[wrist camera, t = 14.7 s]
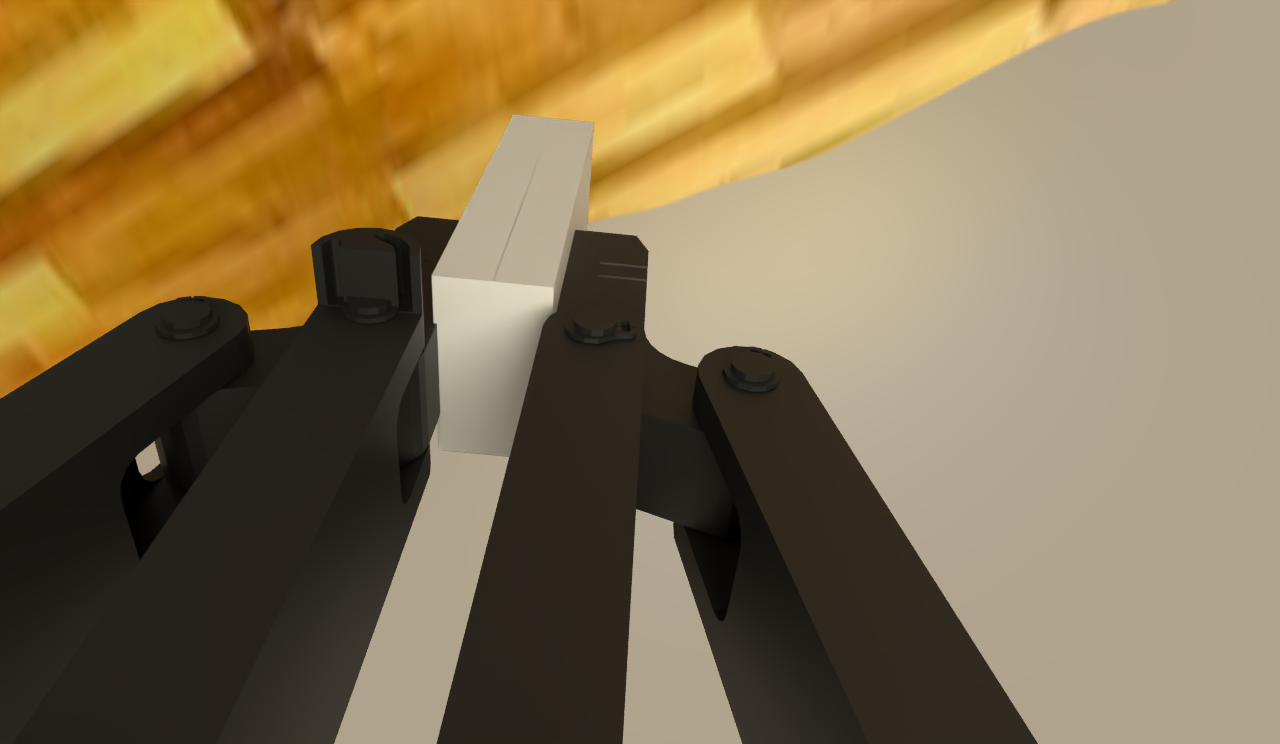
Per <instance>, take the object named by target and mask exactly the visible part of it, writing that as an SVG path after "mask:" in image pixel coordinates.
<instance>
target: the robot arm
mask: <svg viewBox="0 0 1280 744" xmlns="http://www.w3.org/2000/svg"><path fill="white" fill-rule="evenodd" d="M593 133H594V123H593V122H583V121H574V120H564V119H554V118H545V117H535V116H525V115H516V114H513V116H512V118H511V120H510V122H509V124H508V126H507V128H506V130H505V132H504V134H503V136H502V138H501V140H500V142H499V144H498V146H497V148H496V150H495V152H494V154H493V156H492V158H491V160H490V161H489V163H488V165H487V167H486V169H485V171H484V173H483V175H482V177H481V179H480V181H479V183H478V185H477V187H476V189H475V191H474V193H473V195H472V197H471V199H470V201H469V203H468V205H467V207H466V209H465V211H464V213H463V215H462V217H461V219H460V221H459V220H449V219H439V218H429V217H419V216H418V217H416V218H414V219H412V220H410V221H409V222H407V223H405V224H403V225H401V226H400V227H398V228H396V230H395V231H393V230H387V229H382V228H355V229H348V230H341V231H337V232H334V233H331V234H328V235H326V236H323V237H321V238H320V239H318V240H317V241H316V242H314V243H313V244H312V245H311V249H312V257H313V266H314V274H315V282H316V290H317V299H318V305H317V307H316V308H315V310H314V311H313V312H312V314H311V315H310V317H309V318H308V320H307V321H306V322H305V324H304V325H303V326H298V327H290V328H281V329H267V330H254V331H250V326H249V321H248V315H247V313H246V312H245V311H244V310H243V309H242V307H241V306H240V305H238V304H235V303H233V302H230V301H228V300H225V299H218V298H210V297H205V296H194V298H191V296H189V297H181V298H177V299H175V300H172V301H168V302H164V303H160V304H157V305H155V306H153V307H151V308H148V309H146V310H144V311H142V312H140V313H138V314H137V315H135V316H134V317H132V318H130V319H129V320H127V321H125V322H124V323H122V324H121V325H119V326H117V327H116V328H114V329H113V330H111V331H109V332H108V333H106V334H104V335H103V336H101V337H100V338H98V339H96V340H95V341H93V342H92V343H90V344H88V345H87V346H85V347H84V348H82V349H80V350H79V351H77V352H75V353H74V354H72V355H71V356H69V357H67V358H66V359H64V360H63V361H61V362H59V363H58V364H56V365H54V366H53V367H51V368H50V369H48V370H46V371H45V372H43V373H42V374H40V375H38V376H37V377H35V378H33V379H32V380H30V381H29V382H27V383H25V384H24V385H22V386H21V387H19V388H17V389H16V390H14V391H12V392H11V393H9V394H8V395H6V396H4V397H3V398H1V399H0V744H334V742H335V739H336V736H337V734H338V731H339V728H340V725H341V722H342V720H343V717H344V714H345V711H346V708H347V706H348V703H349V700H350V697H351V694H352V691H353V689H354V686H355V683H356V680H357V678H358V675H359V672H360V669H361V666H362V663H363V660H364V658H365V655H366V652H367V649H368V647H369V643H370V641H371V638H372V635H373V633H374V629H375V627H376V624H377V621H378V619H379V615H380V613H381V610H382V607H383V604H384V602H385V599H386V596H387V593H388V590H389V588H390V585H391V582H392V579H393V576H394V573H395V571H396V568H397V565H398V562H399V560H400V557H401V554H402V551H403V548H404V545H405V543H406V540H407V537H408V534H409V531H410V529H411V526H412V523H413V520H414V517H415V515H416V512H417V509H418V506H419V503H420V501H421V498H422V495H423V492H424V489H425V487H426V484H427V481H428V478H429V475H430V464H431V462H430V440H431V437H432V434H433V432H434V429H435V426H436V424H437V422H438V447H439V450H442V451H452V452H464V453H474V454H484V455H485V454H486V455H495V456H506V457H509V461H508V465H507V469H506V473H505V477H504V481H503V484H502V488H501V492H500V496H499V500H498V504H497V508H496V512H495V516H494V520H493V524H492V528H491V532H490V536H489V540H488V544H487V547H486V551H485V555H484V559H483V563H482V567H481V571H480V575H479V579H478V583H477V587H476V591H475V595H474V599H473V603H472V607H471V610H470V614H469V618H468V622H467V626H466V630H465V634H464V638H463V642H462V646H461V650H460V654H459V658H458V662H457V666H456V670H455V674H454V678H453V682H452V685H451V689H450V693H449V697H448V701H447V705H446V709H445V714H444V717H443V721H442V725H441V729H440V733H439V737H438V741H437V744H622V742H623V725H624V707H625V691H626V672H627V655H628V638H629V637H628V636H629V620H630V603H631V601H630V600H631V585H632V567H633V551H634V533H635V515H636V509H638V510H641V511H644V512H647V513H650V514H652V515H655V516H658V517H661V518H664V519H667V520H670V521H673V522H674V524H673V527H674V539H675V542H676V545H677V548H678V551H679V554H680V557H681V560H682V563H683V566H684V569H685V572H686V575H687V578H688V581H689V584H690V587H691V590H692V593H693V596H694V599H695V602H696V605H697V608H698V611H699V614H700V617H701V620H702V623H703V626H704V629H705V632H706V635H707V638H708V641H709V644H710V647H711V650H712V653H713V656H714V659H715V662H716V665H717V668H718V671H719V674H720V677H721V680H722V683H723V686H724V689H725V692H726V695H727V698H728V701H729V704H730V707H731V711H732V714H733V717H734V720H735V723H736V726H737V728H738V732H739V735H740V738H741V741H742V743H743V744H1038V743H1037V741H1036V740H1035V738H1034V737H1033V735H1032V734H1031V732H1030V730H1029V729H1028V727H1027V726H1026V724H1025V723H1024V721H1023V719H1022V718H1021V716H1020V715H1019V713H1018V711H1017V710H1016V708H1015V707H1014V705H1013V704H1012V702H1011V700H1010V699H1009V697H1008V696H1007V694H1006V693H1005V691H1004V689H1003V688H1002V686H1001V685H1000V683H999V682H998V680H997V679H996V677H995V675H994V674H993V672H992V671H991V669H990V668H989V666H988V664H987V663H986V661H985V660H984V658H983V656H982V655H981V653H980V652H979V650H978V649H977V647H976V646H975V644H974V642H973V641H972V639H971V637H970V636H969V634H968V633H967V631H966V630H965V628H964V626H963V625H962V623H961V622H960V620H959V619H958V617H957V616H956V614H955V612H954V611H953V609H952V608H951V606H950V604H949V603H948V601H947V600H946V598H945V597H944V595H943V594H942V592H941V590H940V589H939V587H938V586H937V584H936V582H935V581H934V579H933V578H932V576H931V575H930V573H929V571H928V570H927V568H926V567H925V565H924V564H923V562H922V560H921V559H920V557H919V556H918V554H917V552H916V551H915V550H914V548H913V546H912V545H911V543H910V541H909V540H908V538H907V537H906V535H905V534H904V532H903V531H902V529H901V527H900V526H899V524H898V523H897V521H896V519H895V518H894V516H893V515H892V513H891V512H890V510H889V509H888V507H887V505H886V504H885V502H884V501H883V499H882V497H881V496H880V494H879V493H878V491H877V490H876V488H875V486H874V485H873V483H872V482H871V480H870V479H869V477H868V475H867V474H866V472H865V471H864V469H863V467H862V466H861V464H860V463H859V461H858V460H857V458H856V457H855V455H854V454H853V452H852V450H851V449H850V447H849V446H848V444H847V442H846V441H845V439H844V438H843V436H842V434H841V433H840V431H839V430H838V428H837V427H836V425H835V424H834V422H833V421H832V419H831V417H830V416H829V414H828V412H827V411H826V409H825V408H824V406H823V405H822V403H821V401H820V400H819V398H818V397H817V395H816V394H815V392H814V390H813V389H812V388H811V386H810V384H809V383H808V381H807V379H806V378H805V376H804V375H803V373H802V372H801V371H800V370H799V369H798V368H797V367H796V366H795V365H794V364H793V363H792V362H791V361H789V360H787V359H785V358H783V357H782V356H780V355H778V354H776V353H774V352H771V351H768V350H765V349H764V350H762V349H761V348H757V347H740V346H733V347H726V348H720V349H716V350H714V351H712V352H710V353H708V354H707V355H705V356H704V357H703V359H702V360H701V362H700V363H699V365H698V368H697V367H694V366H690V365H687V364H684V363H681V362H678V361H676V360H673V359H671V358H669V357H667V356H665V355H664V354H662V353H660V352H659V351H658V350H656V349H655V348H654V347H653V346H652V345H651V344H650V343H649V341H648V340H647V338H646V335H645V331H644V321H645V303H646V286H647V267H648V250H647V249H646V248H645V246H644V245H643V244H642V242H641V241H640V240H639V238H638V237H637V236H633V235H622V234H613V233H602V232H593V231H587V223H588V208H589V193H590V178H591V163H592V148H593ZM154 441H155V444H156V448H157V452H158V456H159V460H160V464H159V465H158V466H157V467H155V468H154V469H153V470H152V471H151V472H149V473H147V474H145V475H143V476H142V475H141V474H140V473H139V470H138V466H137V463H136V459H135V457H136V456H137V455H138V454H139V453H140V452H141V451H143V450H144V449H145V448H146V447H148V446H149V445H150V444H151V443H153V442H154Z"/></svg>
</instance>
